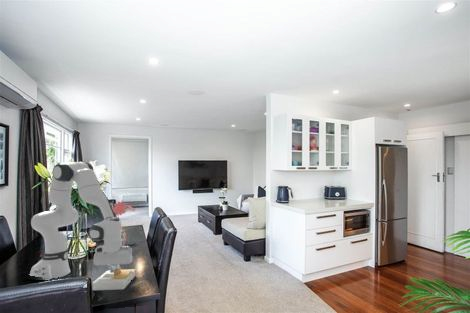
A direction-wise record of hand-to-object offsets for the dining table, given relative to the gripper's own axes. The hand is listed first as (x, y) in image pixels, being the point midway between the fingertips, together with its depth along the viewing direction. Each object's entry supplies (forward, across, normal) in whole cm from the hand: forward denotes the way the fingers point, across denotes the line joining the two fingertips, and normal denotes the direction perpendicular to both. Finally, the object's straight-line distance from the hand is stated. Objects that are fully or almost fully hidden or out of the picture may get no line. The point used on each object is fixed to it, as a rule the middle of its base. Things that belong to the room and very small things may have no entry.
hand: (113, 272), depth 142 cm
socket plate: (+6, -1, 0) cm, 6 cm away
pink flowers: (+6, +32, -83) cm, 89 cm away
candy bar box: (+6, +19, -50) cm, 54 cm away
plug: (+6, +6, -15) cm, 17 cm away
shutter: (+2, -5, 0) cm, 5 cm away
